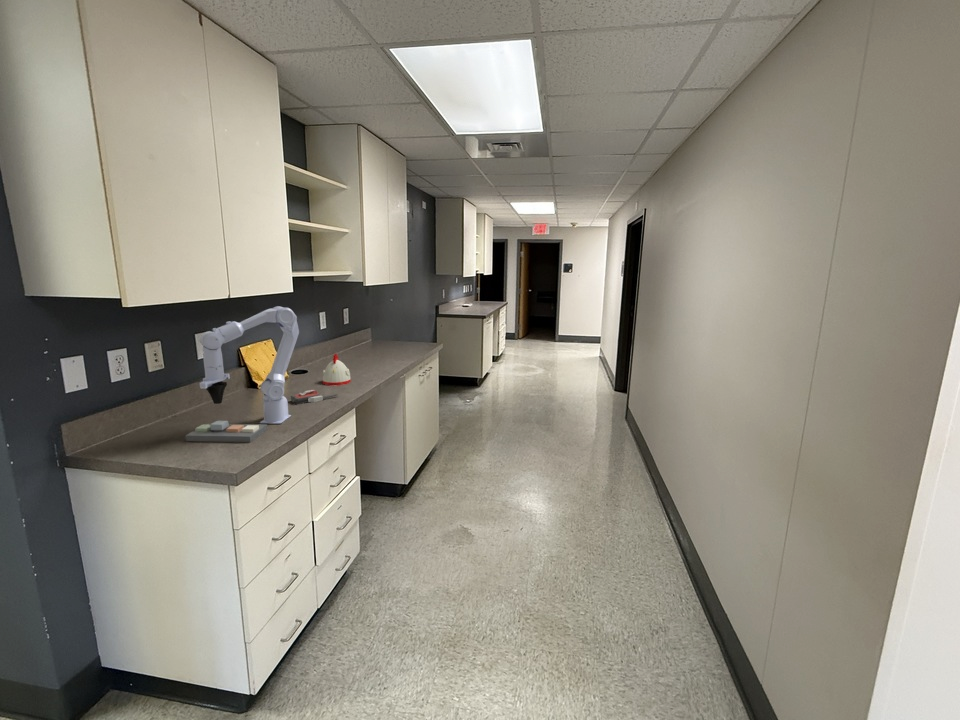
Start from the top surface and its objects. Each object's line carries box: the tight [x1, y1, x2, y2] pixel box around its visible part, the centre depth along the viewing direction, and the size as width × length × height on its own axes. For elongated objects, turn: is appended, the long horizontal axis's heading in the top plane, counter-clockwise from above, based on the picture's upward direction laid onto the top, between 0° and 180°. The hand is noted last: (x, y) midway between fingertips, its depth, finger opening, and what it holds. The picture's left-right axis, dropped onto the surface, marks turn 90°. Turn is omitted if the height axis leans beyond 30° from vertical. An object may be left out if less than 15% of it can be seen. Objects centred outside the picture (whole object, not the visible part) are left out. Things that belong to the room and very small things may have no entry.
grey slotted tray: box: [185, 423, 268, 443], centre depth 156 cm, size 12×22×2 cm, turn 89°
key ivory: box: [242, 425, 259, 433], centre depth 156 cm, size 4×4×3 cm
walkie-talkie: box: [290, 389, 339, 405], centre depth 201 cm, size 9×4×20 cm
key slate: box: [209, 420, 230, 432], centre depth 156 cm, size 4×4×3 cm
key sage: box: [195, 423, 211, 432], centre depth 156 cm, size 4×4×3 cm
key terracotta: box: [226, 425, 244, 432], centre depth 156 cm, size 4×4×3 cm
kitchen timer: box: [322, 353, 352, 386], centre depth 230 cm, size 14×14×15 cm
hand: (217, 403), depth 158 cm, fingers closed
